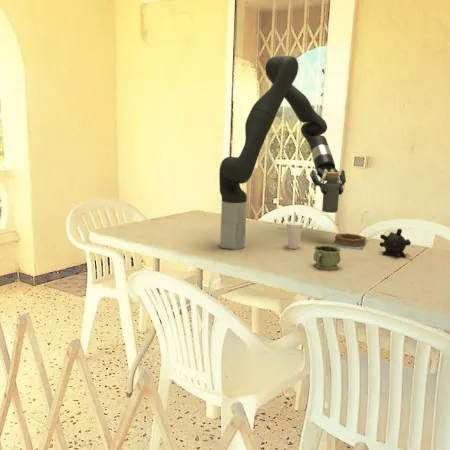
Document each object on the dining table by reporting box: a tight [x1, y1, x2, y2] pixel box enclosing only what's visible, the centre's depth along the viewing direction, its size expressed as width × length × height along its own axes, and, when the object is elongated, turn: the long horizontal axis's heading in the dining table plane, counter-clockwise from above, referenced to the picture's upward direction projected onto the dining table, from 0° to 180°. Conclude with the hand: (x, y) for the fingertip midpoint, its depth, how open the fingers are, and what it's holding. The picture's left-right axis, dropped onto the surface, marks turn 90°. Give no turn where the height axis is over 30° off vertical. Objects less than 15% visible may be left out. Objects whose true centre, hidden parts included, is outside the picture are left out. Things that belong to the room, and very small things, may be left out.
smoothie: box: [285, 211, 304, 251], centre depth 176 cm, size 6×6×14 cm
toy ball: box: [379, 228, 412, 259], centre depth 171 cm, size 11×11×12 cm
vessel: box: [313, 244, 342, 271], centre depth 155 cm, size 12×9×6 cm
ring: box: [334, 233, 367, 247], centre depth 186 cm, size 11×11×2 cm
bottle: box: [321, 172, 340, 214], centre depth 181 cm, size 6×6×15 cm
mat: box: [330, 239, 369, 251], centre depth 187 cm, size 18×12×1 cm, turn 156°
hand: (333, 193), depth 179 cm, fingers closed on bottle, 6 cm apart
